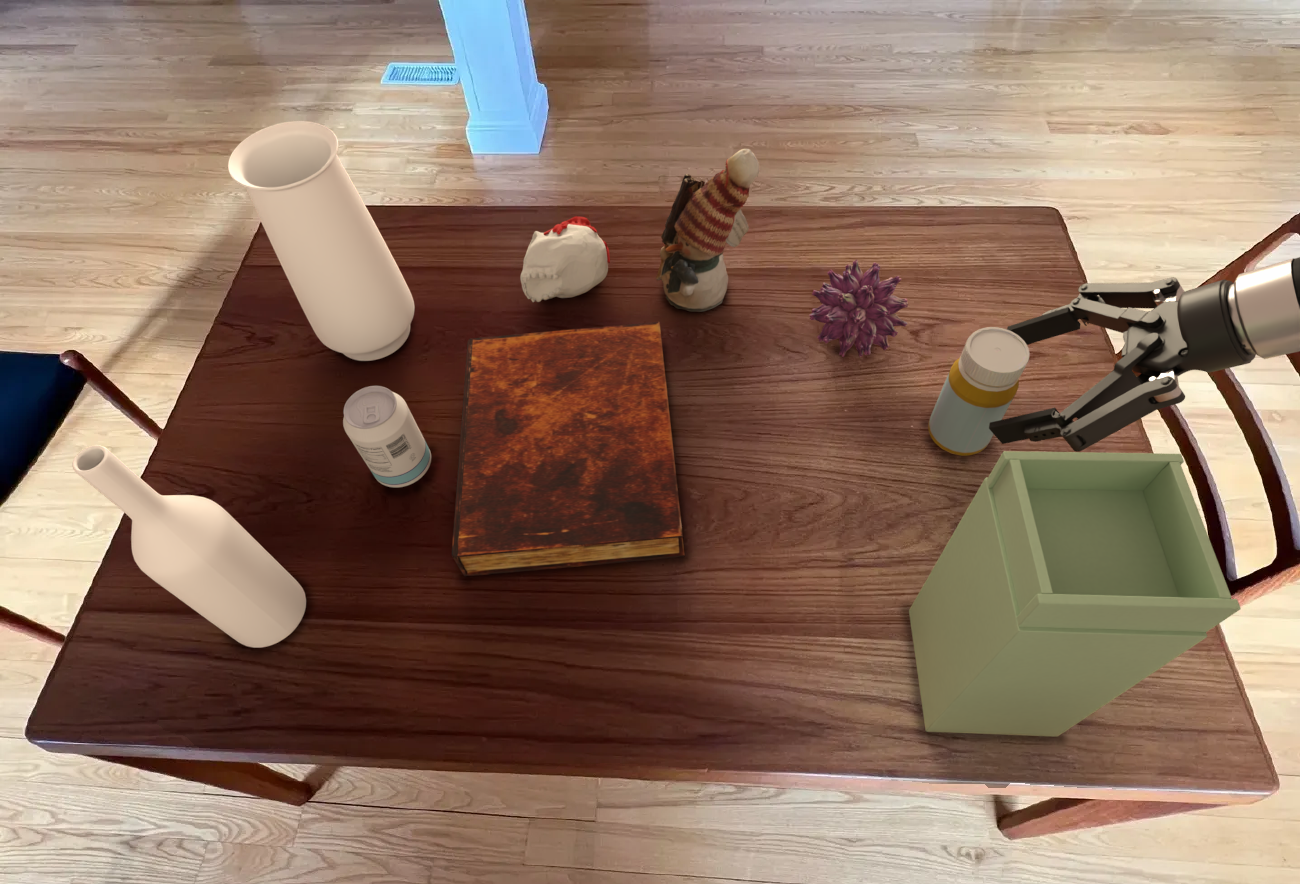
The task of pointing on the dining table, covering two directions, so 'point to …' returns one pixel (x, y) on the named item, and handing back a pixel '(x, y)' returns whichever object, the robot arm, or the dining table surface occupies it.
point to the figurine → (705, 234)
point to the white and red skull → (564, 261)
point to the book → (565, 452)
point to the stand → (1063, 591)
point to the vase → (325, 239)
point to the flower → (858, 309)
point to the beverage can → (386, 436)
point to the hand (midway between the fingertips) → (1004, 383)
